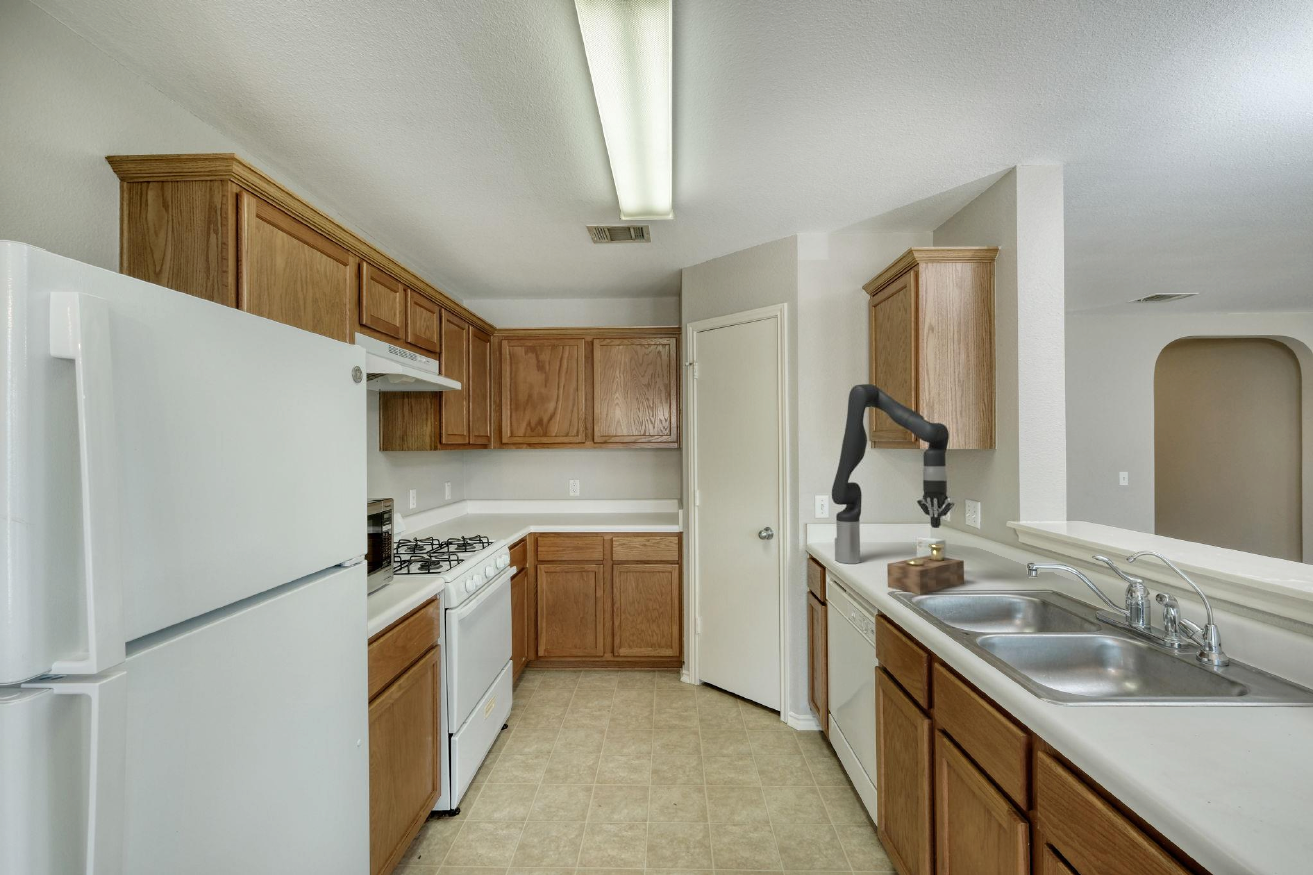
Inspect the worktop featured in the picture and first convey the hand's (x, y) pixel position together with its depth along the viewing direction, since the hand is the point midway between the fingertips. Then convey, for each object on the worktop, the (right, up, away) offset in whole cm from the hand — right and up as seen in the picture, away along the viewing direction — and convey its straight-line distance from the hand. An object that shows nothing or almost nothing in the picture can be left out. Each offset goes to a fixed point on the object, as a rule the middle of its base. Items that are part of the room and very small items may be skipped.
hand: (935, 527), depth 193 cm
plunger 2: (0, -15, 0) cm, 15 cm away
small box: (+5, -20, +14) cm, 25 cm away
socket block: (-5, -20, -4) cm, 20 cm away
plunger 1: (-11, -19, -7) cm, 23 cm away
